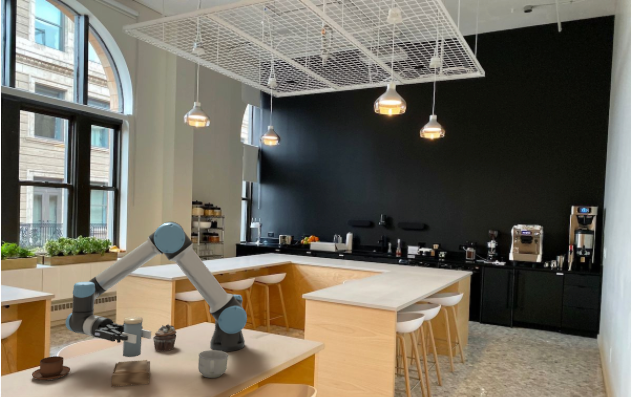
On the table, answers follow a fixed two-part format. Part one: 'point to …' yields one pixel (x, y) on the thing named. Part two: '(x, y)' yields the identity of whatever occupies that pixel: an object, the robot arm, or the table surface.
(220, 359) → the teacup
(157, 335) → the cupcake
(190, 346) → the table surface
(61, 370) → the cup and saucer
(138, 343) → the canister
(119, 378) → the pedestal
